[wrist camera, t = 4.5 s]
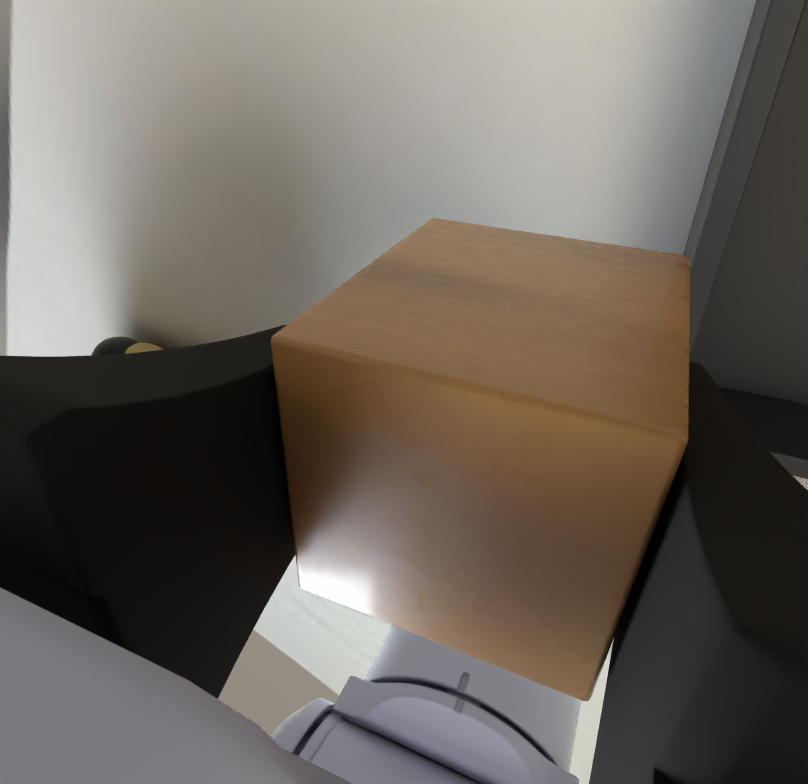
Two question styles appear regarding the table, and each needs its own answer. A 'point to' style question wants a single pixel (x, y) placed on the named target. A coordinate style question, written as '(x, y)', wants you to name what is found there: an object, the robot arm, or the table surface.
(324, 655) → the table surface
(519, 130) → the table surface
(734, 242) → the tray
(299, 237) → the table surface
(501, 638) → the block
